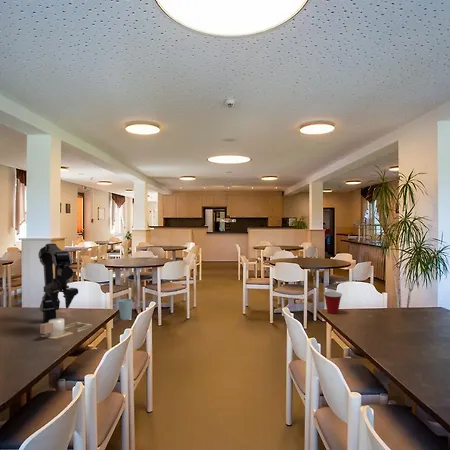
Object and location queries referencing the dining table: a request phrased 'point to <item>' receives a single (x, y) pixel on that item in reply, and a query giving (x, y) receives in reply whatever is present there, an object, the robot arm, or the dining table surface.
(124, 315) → the cup
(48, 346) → the dining table surface
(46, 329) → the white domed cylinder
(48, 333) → the coaster
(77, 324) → the beige u-shaped bar frame
